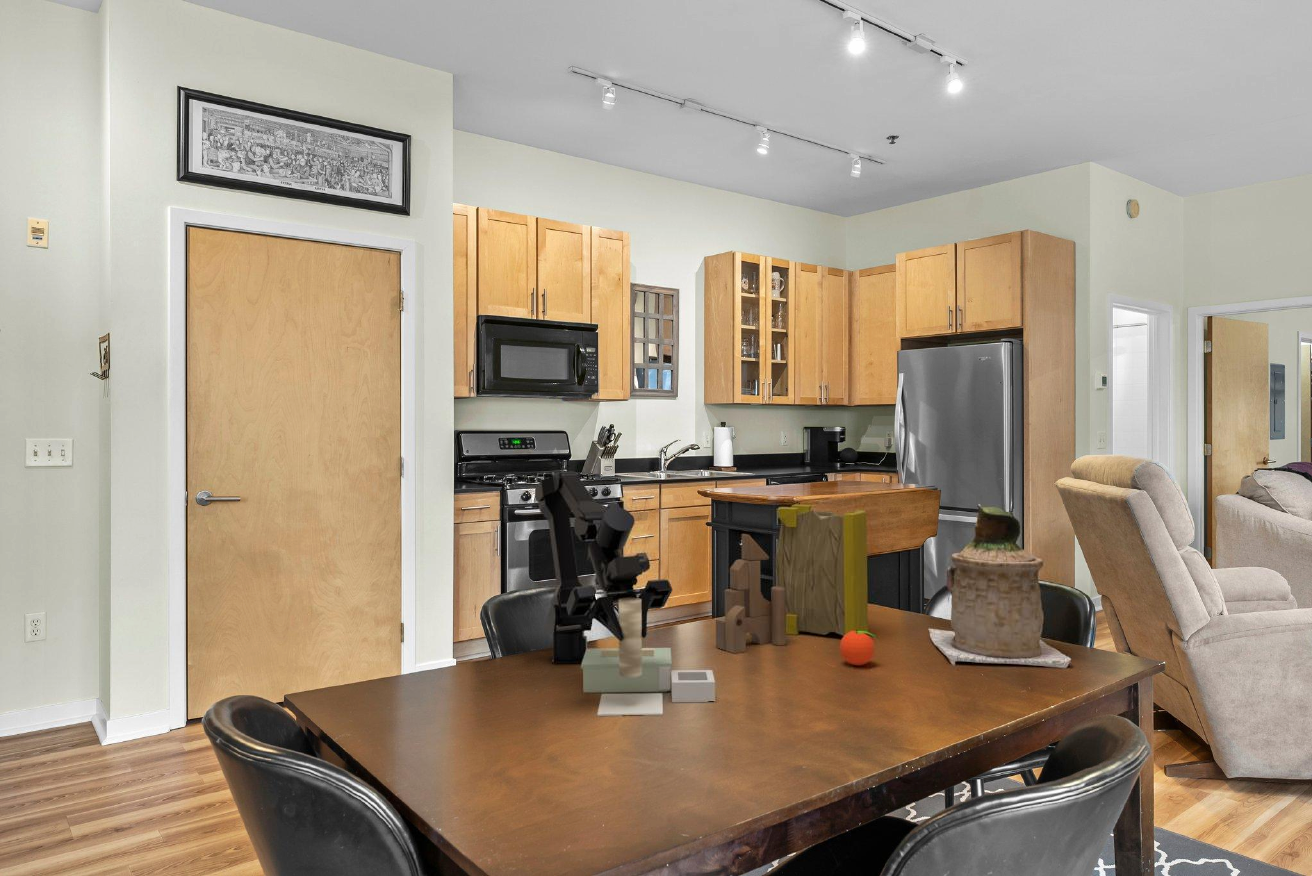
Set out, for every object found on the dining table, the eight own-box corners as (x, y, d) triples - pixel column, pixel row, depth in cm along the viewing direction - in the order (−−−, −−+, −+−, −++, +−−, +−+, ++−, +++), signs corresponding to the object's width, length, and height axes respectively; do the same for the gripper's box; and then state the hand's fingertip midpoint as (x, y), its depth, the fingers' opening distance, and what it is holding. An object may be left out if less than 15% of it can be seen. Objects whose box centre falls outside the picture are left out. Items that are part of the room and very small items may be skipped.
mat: (597, 716, 137) (597, 714, 137) (601, 695, 148) (601, 694, 148) (662, 715, 137) (662, 713, 137) (662, 695, 148) (662, 693, 148)
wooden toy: (733, 654, 176) (732, 538, 176) (715, 648, 182) (714, 535, 182) (789, 644, 184) (787, 533, 184) (770, 638, 190) (769, 531, 190)
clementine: (877, 660, 170) (876, 626, 170) (883, 670, 163) (882, 634, 163) (837, 660, 171) (837, 626, 171) (842, 669, 164) (841, 633, 164)
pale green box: (578, 703, 144) (578, 667, 144) (586, 675, 162) (586, 642, 162) (715, 702, 144) (714, 665, 144) (708, 673, 162) (708, 641, 162)
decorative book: (871, 632, 194) (869, 506, 194) (856, 642, 185) (854, 510, 185) (791, 623, 205) (790, 504, 205) (774, 633, 195) (772, 507, 196)
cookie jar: (1075, 669, 162) (1073, 508, 162) (946, 666, 166) (944, 508, 166) (1037, 639, 186) (1035, 499, 187) (925, 637, 190) (923, 499, 190)
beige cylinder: (615, 676, 142) (614, 601, 142) (624, 670, 145) (623, 596, 146) (637, 678, 140) (636, 602, 140) (645, 672, 144) (644, 598, 144)
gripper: (571, 541, 143) (594, 617, 133) (667, 535, 150) (696, 606, 140) (557, 579, 150) (578, 654, 140) (650, 571, 158) (676, 641, 148)
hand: (633, 638), depth 142 cm, fingers closed on beige cylinder, 4 cm apart
